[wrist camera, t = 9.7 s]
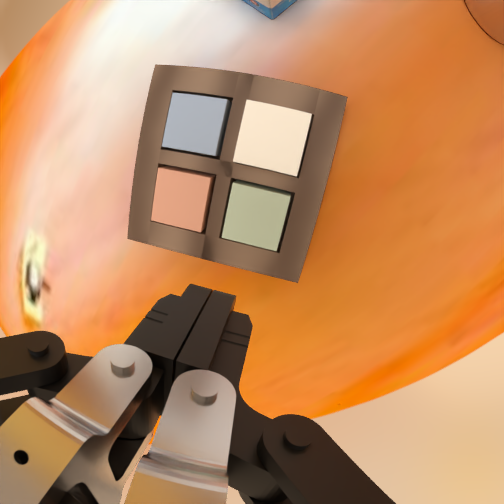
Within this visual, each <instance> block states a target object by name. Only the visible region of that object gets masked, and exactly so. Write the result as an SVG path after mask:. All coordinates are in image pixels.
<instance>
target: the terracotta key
mask: <svg viewBox="0 0 504 504" xmlns="http://www.w3.org/2000/svg"><path fill="white" fill-rule="evenodd" d="M215 180H216V175H215V174H210V173H205V172H201V171H196V170H190V169H185V168H180V167H175V166H164V167H159V168H158V172H157V179H156V185H155V193H154V200H153V208H152V216H151V220H152V221H156V222H160V223H164V224H168V225H172V226H176V227H180V228H185V229H189V230H193V231H197V232H202V231H203V230H204V229H205V228H206V227H207V223H208V217H209V212H210V206H211V201H212V196H213V191H214V185H215Z"/></svg>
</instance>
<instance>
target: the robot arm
mask: <svg viewBox="0 0 504 504" xmlns="http://www.w3.org/2000/svg"><path fill="white" fill-rule="evenodd" d="M465 2H466V5H467V7H468V9H469V11H470V13H471V14H472V16H473V17H474V19H475V20H476V21H477V23H478V24H479V25H480V26H481V27H482V28H483V30H484V31H485V32H486V33H487V34H489V35H490V36H491V37H492V38H493V39H495V40H496V41H498V42H499V43H502V44H504V0H465ZM235 300H236V296H235V295H231V294H227V293H223V292H220V291H216V290H214V291H213V290H212V289H208V288H204V287H201V286H197V285H193V284H190V285H189V286H188V287H187V289H186V290H185V291H184V293H183V294H182V296H181V297H180V296H176V295H173V294H170V295H168V296H166V297H164V298H161V299H159V300H158V301H157V303H156V304H155V305H154V306H153V307H152V309H151V311H149V312H148V314H147V315H146V316H145V318H144V319H143V320H142V321H141V322H140V324H139V325H138V326H137V327H136V329H135V330H134V331H133V332H132V334H131V335H130V336H129V337H128V339H127V340H126V341H125V343H124V344H116V345H111V346H108V347H105V348H104V349H102V350H101V351H100V352H98V353H97V354H96V355H95V356H94V357H89V356H82V355H76V354H71V353H66V351H65V346H64V343H63V341H62V340H61V338H60V337H58V336H57V335H55V334H53V333H51V332H47V331H35V332H29V333H24V334H19V335H14V336H9V337H4V338H0V395H4V394H8V393H13V392H18V391H23V390H28V393H29V395H25V396H20V397H16V398H11V399H6V400H1V401H0V504H119V503H120V500H121V496H122V490H123V487H124V485H125V483H126V481H127V479H128V478H129V476H130V474H131V472H132V471H133V469H134V467H135V466H136V464H137V462H138V460H139V459H140V457H141V455H142V454H143V452H144V450H145V449H146V447H147V445H148V443H149V442H150V440H151V438H152V436H153V432H154V431H153V428H154V426H155V424H156V422H157V420H158V418H159V416H160V415H161V419H160V422H159V425H158V428H157V431H156V433H155V436H154V439H153V442H152V445H151V448H150V450H149V452H148V454H147V455H143V456H142V458H141V459H140V461H139V463H138V466H137V468H136V471H135V474H134V477H133V479H132V482H131V485H130V488H129V491H128V494H127V497H126V500H125V503H124V504H226V499H227V490H228V485H229V486H230V487H232V488H234V489H236V490H238V491H239V494H240V496H241V498H242V499H243V501H244V502H245V504H396V503H395V502H393V500H392V499H390V498H389V497H388V496H387V495H386V494H385V493H384V492H383V491H382V490H381V489H380V488H379V487H378V486H377V485H376V484H375V483H374V482H373V481H372V480H371V479H370V478H369V477H368V476H367V475H366V474H365V473H364V472H363V471H362V470H361V469H360V468H359V467H358V466H357V465H356V464H355V463H354V462H353V461H352V460H351V459H350V457H349V456H348V455H347V454H346V453H345V452H344V451H343V450H342V449H341V448H340V447H339V446H338V445H337V444H336V443H335V442H334V440H332V438H331V437H330V436H329V435H328V434H327V433H326V432H325V431H324V430H323V428H322V427H321V426H320V425H318V424H317V423H315V422H314V421H313V420H311V419H309V418H307V417H304V416H300V415H294V414H287V415H281V416H278V417H276V418H274V419H270V418H268V417H266V416H264V415H262V414H260V413H258V412H257V411H255V410H253V409H252V408H251V407H249V406H248V405H247V404H246V403H245V401H244V400H243V399H242V397H241V395H240V391H239V382H240V377H241V373H242V369H243V365H244V361H245V357H246V352H247V348H248V344H249V340H250V335H251V331H252V327H253V325H252V323H251V321H250V318H249V316H248V315H246V314H242V313H239V312H235V311H233V310H234V305H235Z"/></svg>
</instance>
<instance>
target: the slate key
mask: <svg viewBox="0 0 504 504" xmlns="http://www.w3.org/2000/svg"><path fill="white" fill-rule="evenodd" d="M231 105H232V102H230V101H229V100H227V99H221V98H214V97H207V96H200V95H191V94H183V93H173V94H172V98H171V103H170V107H169V112H168V117H167V122H166V127H165V132H164V137H163V143H162V147H168V148H174V149H180V150H186V151H192V152H197V153H203V154H208V155H213V156H218V155H221V151H222V146H223V141H224V137H225V132H226V128H227V123H228V119H229V114H230V110H231Z"/></svg>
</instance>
